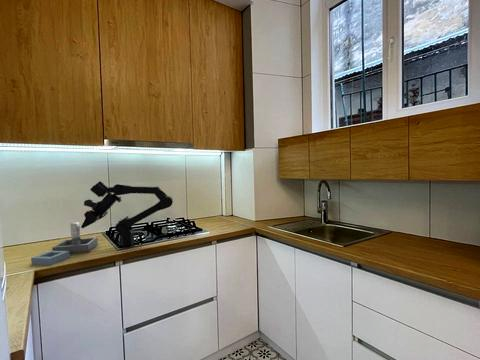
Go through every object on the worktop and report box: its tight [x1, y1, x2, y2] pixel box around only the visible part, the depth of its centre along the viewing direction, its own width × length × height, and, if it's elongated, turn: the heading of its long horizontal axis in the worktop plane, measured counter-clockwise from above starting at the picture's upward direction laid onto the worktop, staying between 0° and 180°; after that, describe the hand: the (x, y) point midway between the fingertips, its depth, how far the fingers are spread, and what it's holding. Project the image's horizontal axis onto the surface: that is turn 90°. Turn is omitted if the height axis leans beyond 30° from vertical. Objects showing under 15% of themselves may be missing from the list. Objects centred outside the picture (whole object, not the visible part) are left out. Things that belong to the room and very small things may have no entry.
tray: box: [51, 236, 99, 255], centre depth 137 cm, size 16×14×4 cm
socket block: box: [30, 250, 71, 266], centre depth 121 cm, size 10×10×3 cm
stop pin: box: [69, 221, 82, 245], centre depth 136 cm, size 4×4×13 cm
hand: (85, 225), depth 137 cm, fingers open, 9 cm apart
